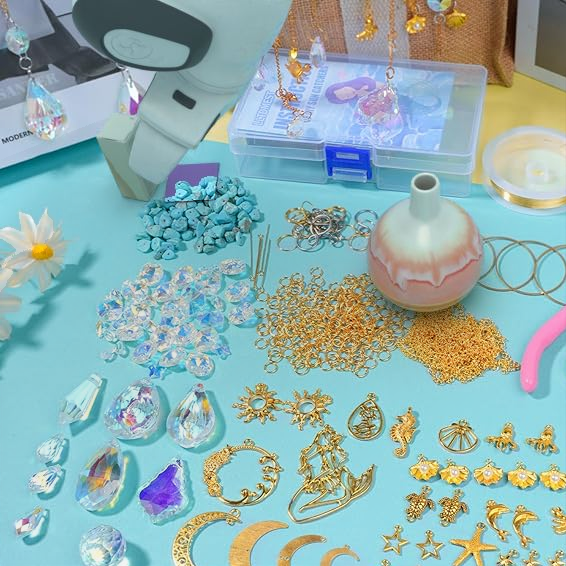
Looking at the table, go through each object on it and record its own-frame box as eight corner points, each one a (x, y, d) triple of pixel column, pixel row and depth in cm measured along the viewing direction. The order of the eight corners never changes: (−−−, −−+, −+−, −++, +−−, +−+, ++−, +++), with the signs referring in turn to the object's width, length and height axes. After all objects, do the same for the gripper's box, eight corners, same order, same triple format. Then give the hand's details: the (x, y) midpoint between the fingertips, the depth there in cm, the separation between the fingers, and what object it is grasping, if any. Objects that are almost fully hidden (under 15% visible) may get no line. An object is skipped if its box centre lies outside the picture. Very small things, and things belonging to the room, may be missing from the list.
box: (137, 171, 117) (113, 109, 108) (164, 176, 116) (142, 114, 107) (120, 198, 114) (94, 136, 105) (148, 203, 113) (124, 141, 104)
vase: (363, 329, 98) (353, 228, 84) (374, 241, 106) (366, 135, 91) (480, 334, 96) (490, 232, 82) (482, 245, 104) (492, 137, 89)
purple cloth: (164, 202, 113) (163, 201, 113) (170, 166, 117) (169, 165, 116) (214, 200, 112) (214, 198, 112) (219, 163, 116) (218, 162, 116)
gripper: (226, -26, 84) (192, 51, 96) (129, 119, 76) (106, 183, 88) (279, 11, 86) (239, 82, 98) (190, 157, 77) (159, 214, 89)
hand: (175, 131), depth 93 cm, fingers open, 8 cm apart
